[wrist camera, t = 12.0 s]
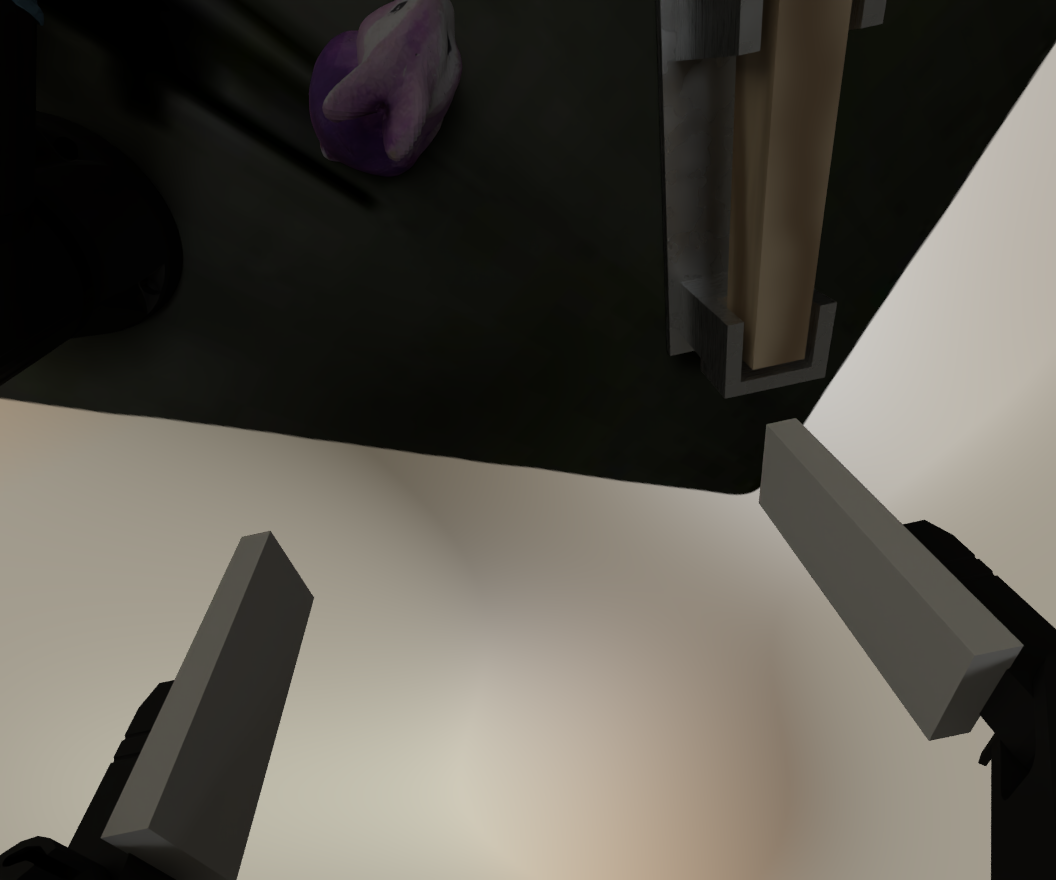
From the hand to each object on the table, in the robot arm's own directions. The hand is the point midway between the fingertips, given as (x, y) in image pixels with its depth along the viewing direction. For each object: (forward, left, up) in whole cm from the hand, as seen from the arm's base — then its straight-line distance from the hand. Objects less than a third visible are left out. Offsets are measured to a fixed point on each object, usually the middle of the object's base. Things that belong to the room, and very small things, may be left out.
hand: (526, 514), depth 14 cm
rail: (+20, 0, -29) cm, 35 cm away
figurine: (-4, +10, -35) cm, 37 cm away
